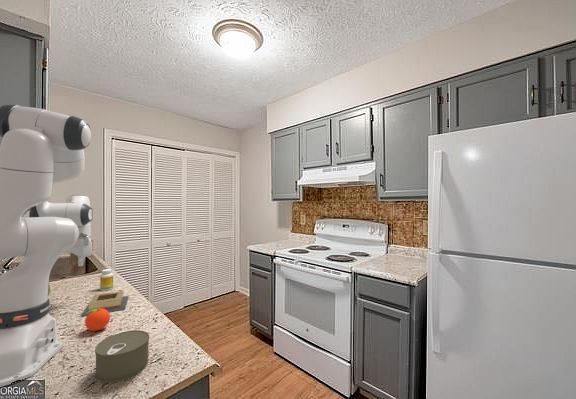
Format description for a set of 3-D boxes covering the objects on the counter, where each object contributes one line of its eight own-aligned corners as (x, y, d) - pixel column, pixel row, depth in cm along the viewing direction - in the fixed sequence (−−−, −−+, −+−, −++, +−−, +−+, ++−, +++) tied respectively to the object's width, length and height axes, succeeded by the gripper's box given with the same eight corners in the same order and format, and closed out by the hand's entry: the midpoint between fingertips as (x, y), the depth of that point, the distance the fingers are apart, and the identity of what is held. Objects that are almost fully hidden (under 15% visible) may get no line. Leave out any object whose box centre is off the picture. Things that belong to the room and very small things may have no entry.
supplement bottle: (99, 288, 128) (99, 269, 128) (112, 286, 132) (112, 267, 132) (100, 291, 124) (100, 271, 124) (113, 289, 128) (113, 270, 128)
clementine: (76, 336, 83) (76, 314, 83) (87, 326, 89) (87, 306, 89) (105, 333, 85) (105, 311, 85) (113, 323, 91) (113, 303, 91)
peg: (85, 273, 111) (85, 252, 111) (73, 275, 107) (73, 253, 107) (81, 271, 113) (81, 251, 113) (69, 274, 110) (70, 252, 110)
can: (157, 353, 73) (157, 329, 74) (133, 383, 61) (133, 354, 62) (114, 354, 73) (114, 330, 73) (82, 384, 61) (82, 355, 61)
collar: (125, 309, 104) (125, 299, 104) (81, 316, 97) (81, 305, 97) (128, 297, 116) (128, 289, 116) (90, 303, 110) (90, 294, 110)
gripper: (96, 233, 107) (96, 266, 107) (77, 231, 118) (77, 261, 118) (78, 235, 102) (78, 270, 102) (60, 232, 113) (59, 263, 113)
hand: (77, 265), depth 110 cm, fingers closed on peg, 4 cm apart
